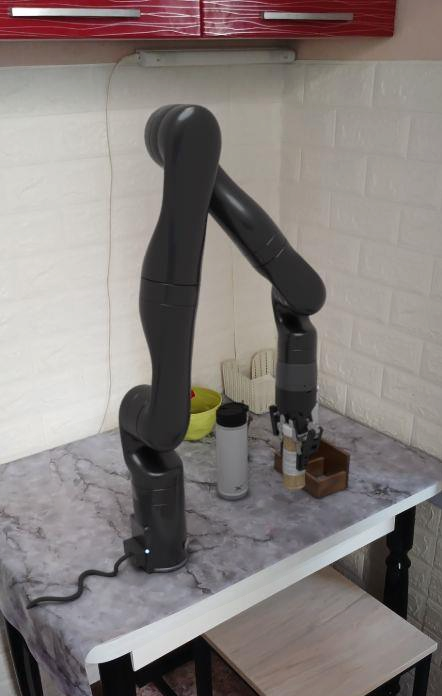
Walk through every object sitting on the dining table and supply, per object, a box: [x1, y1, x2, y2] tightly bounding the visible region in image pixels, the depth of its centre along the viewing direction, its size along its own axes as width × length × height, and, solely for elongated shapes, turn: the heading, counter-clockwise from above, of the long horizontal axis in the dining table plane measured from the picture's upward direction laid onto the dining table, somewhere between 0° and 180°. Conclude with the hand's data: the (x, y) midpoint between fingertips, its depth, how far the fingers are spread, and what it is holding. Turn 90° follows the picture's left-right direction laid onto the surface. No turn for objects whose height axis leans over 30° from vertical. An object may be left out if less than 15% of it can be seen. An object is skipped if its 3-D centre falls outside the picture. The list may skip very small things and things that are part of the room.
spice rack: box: [273, 437, 351, 500], centre depth 161 cm, size 8×15×8 cm, turn 32°
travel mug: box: [215, 401, 250, 501], centre depth 154 cm, size 6×7×20 cm
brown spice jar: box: [281, 423, 306, 491], centre depth 144 cm, size 5×5×13 cm
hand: (293, 463), depth 145 cm, fingers closed on brown spice jar, 4 cm apart
